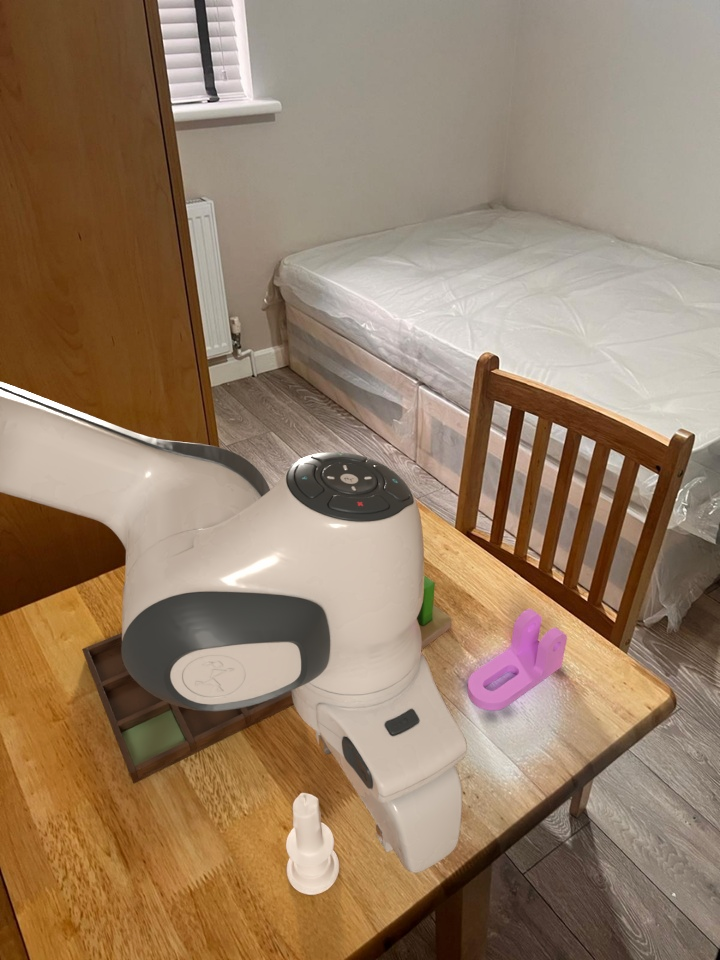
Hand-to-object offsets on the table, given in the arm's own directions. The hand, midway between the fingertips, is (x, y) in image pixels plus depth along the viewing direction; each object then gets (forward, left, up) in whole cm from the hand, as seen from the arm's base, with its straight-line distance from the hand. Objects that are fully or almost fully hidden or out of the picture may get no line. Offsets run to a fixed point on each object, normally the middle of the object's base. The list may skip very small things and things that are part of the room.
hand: (358, 789), depth 57 cm
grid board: (-4, +37, -22) cm, 44 cm away
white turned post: (-2, +7, -22) cm, 24 cm away
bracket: (+31, +15, -22) cm, 41 cm away
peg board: (+20, +33, -22) cm, 45 cm away
